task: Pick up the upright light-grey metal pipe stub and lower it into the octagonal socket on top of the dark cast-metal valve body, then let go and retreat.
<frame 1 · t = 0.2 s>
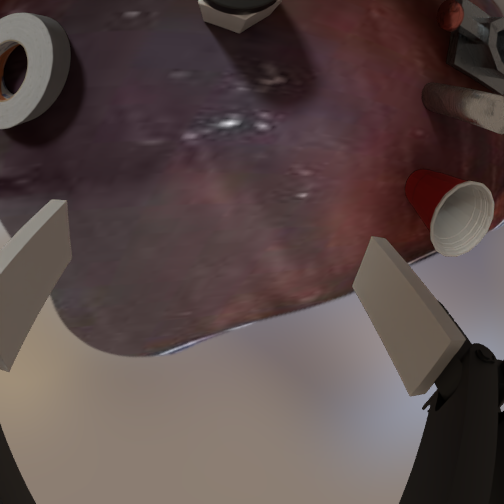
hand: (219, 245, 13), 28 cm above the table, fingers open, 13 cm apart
jar: (234, 1, 28), on the table
plastic cup: (418, 187, 43), on the table
valve body: (478, 46, 31), on the table
pipe stub: (433, 97, 36), on the table
tape roll: (25, 68, 28), on the table
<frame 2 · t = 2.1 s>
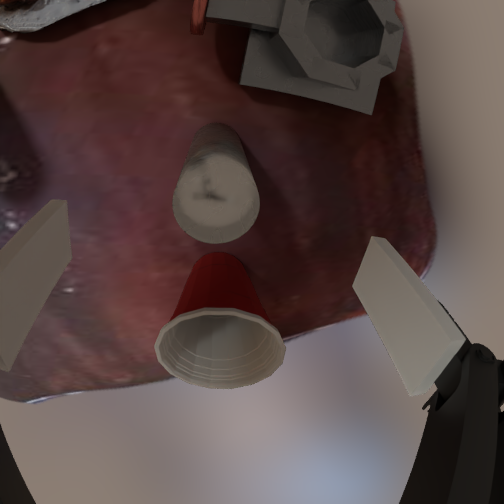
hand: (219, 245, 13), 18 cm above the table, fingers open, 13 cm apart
plastic cup: (217, 274, 35), on the table
valve body: (317, 37, 23), on the table
pipe stub: (216, 146, 28), on the table
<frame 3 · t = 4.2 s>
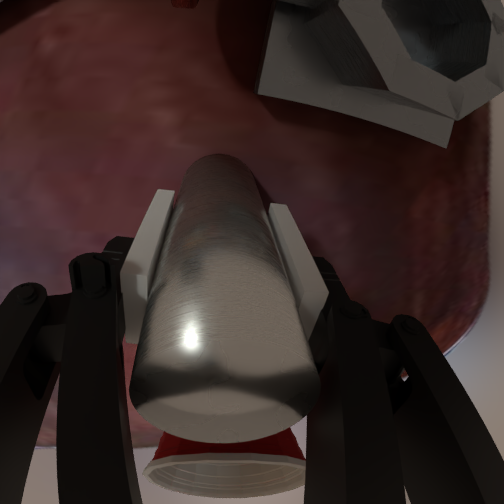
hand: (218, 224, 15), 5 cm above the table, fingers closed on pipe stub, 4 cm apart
plastic cup: (221, 352, 26), on the table
valve body: (372, 25, 14), on the table
pipe stub: (218, 189, 19), on the table, touching gripper
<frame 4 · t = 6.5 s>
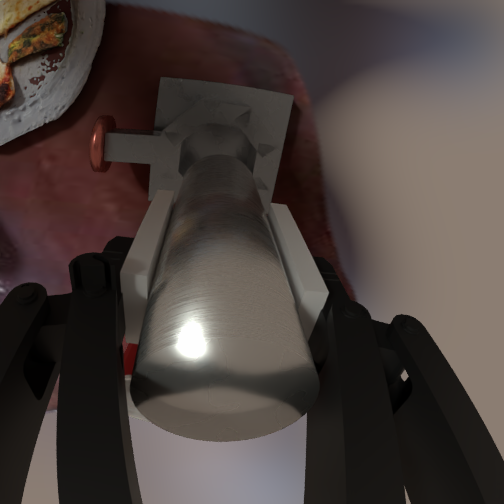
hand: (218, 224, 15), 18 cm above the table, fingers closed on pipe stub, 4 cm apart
food plate: (11, 40, 20), on the table
plastic cup: (157, 332, 42), on the table
valve body: (217, 143, 30), on the table
pipe stub: (218, 190, 19), point 13 cm above the table, touching gripper
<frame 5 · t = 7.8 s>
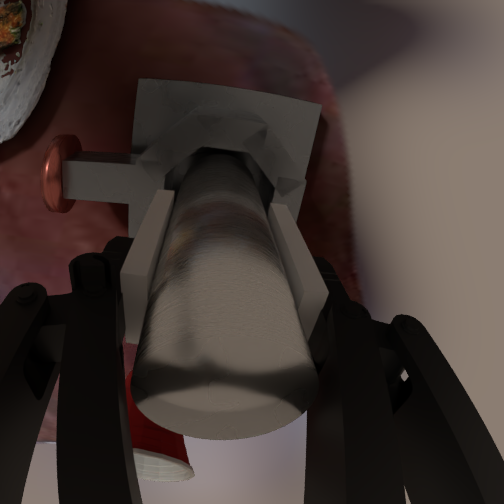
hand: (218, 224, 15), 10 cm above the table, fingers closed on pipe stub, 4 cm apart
plastic cup: (150, 380, 35), on the table
valve body: (217, 166, 23), on the table
pipe stub: (218, 189, 19), point 5 cm above the table, touching gripper
when the fingers open (9 cm above the table, at t = 8.6 s): pipe stub drops 2 cm, resting on valve body.
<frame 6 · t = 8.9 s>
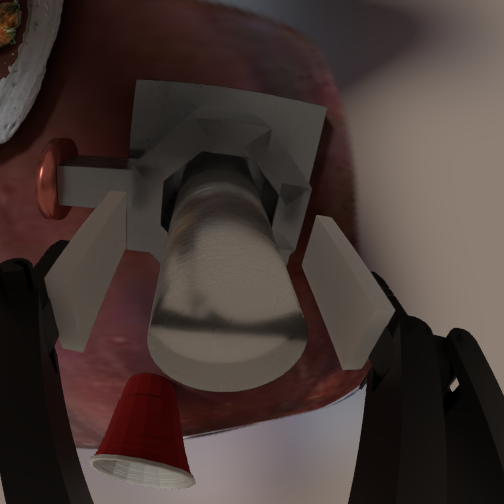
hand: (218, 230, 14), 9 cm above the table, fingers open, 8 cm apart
plastic cup: (150, 387, 34), on the table
valve body: (218, 171, 22), on the table
pipe stub: (216, 179, 20), point 2 cm above the table, touching valve body
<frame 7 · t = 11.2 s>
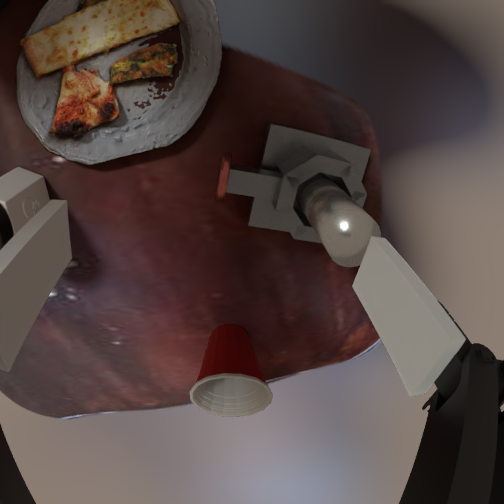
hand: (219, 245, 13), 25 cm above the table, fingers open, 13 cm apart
jar: (27, 197, 35), on the table
food plate: (111, 59, 28), on the table
plastic cup: (228, 337, 49), on the table
valve body: (306, 181, 37), on the table
pipe stub: (309, 186, 36), point 2 cm above the table, touching valve body
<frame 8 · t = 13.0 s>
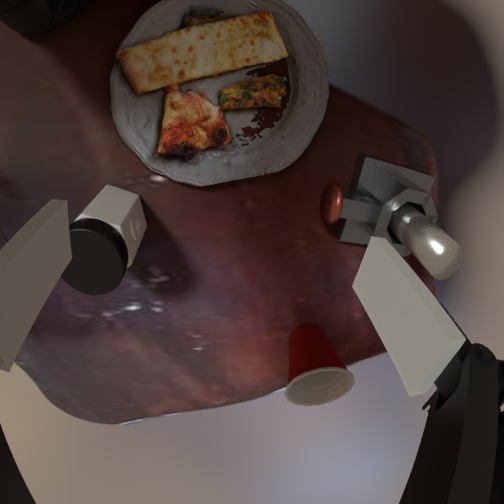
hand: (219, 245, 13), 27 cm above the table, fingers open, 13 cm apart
jar: (116, 214, 40), on the table
food plate: (217, 83, 33), on the table
plastic cup: (303, 335, 54), on the table
valve body: (383, 202, 42), on the table
pipe stub: (389, 208, 41), point 2 cm above the table, touching valve body
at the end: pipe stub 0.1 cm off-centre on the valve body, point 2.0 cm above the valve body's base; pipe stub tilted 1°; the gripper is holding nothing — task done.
